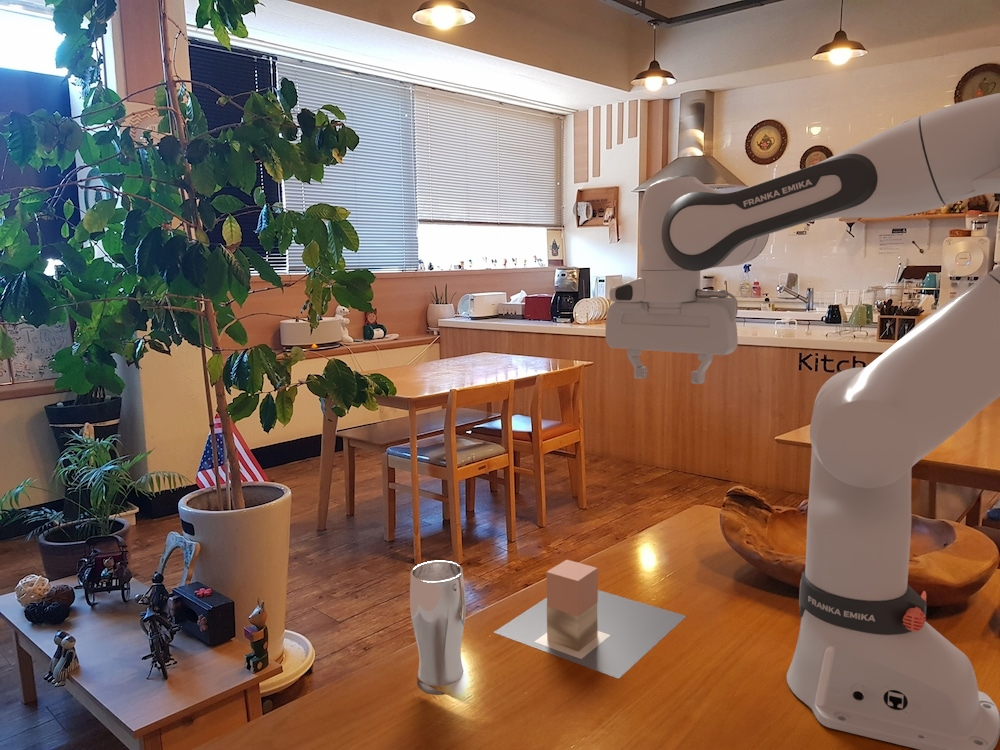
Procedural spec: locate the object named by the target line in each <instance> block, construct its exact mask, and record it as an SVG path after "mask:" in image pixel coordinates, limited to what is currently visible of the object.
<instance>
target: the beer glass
mask: <svg viewBox="0 0 1000 750" xmlns="http://www.w3.org/2000/svg"><path fill="white" fill-rule="evenodd" d="M409 574H410V580H409V584H410V585H409V607H410V617H411V618H410V619H411V623H412V630H413V633H414V637H415V641H416V645H417V650H418V657H419V659H418V660H419V661H418V662H419V665H418V671H417V678H418V680H416V684H417V687H418V688H419V690H421V691H422V692H423V693H426V694H429V695H432V696H445V695H446V693H445V692H443V691H441V690H438V689H436V688H434V687H444V686H449V685H452V684H455V683H456V682H458V681H459V680H460V679H461V678H462V677H463V676H464V667H463V662H462V654H461V653H462V643H463V642H462V641H463V637H464V636H463V634H464V628H465V621H466V611H467V610H466V609H467V607H466V606H467V605H466V601H467V600H466V590H465V589H466V588H465V580H464V568H463V566H461V565H460V564H459V563H457V562H453V561H450V560H431V561H427V562H422V563H420V564H417V565H416V566H414V567H413V568H411V570H410V573H409ZM431 686H432V687H431Z"/></svg>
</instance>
